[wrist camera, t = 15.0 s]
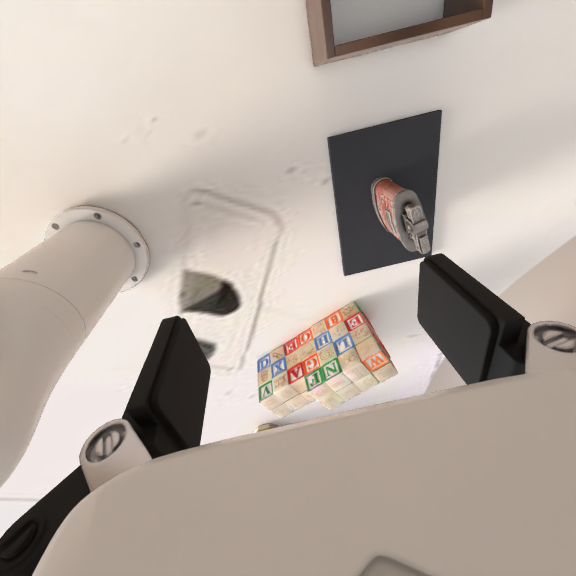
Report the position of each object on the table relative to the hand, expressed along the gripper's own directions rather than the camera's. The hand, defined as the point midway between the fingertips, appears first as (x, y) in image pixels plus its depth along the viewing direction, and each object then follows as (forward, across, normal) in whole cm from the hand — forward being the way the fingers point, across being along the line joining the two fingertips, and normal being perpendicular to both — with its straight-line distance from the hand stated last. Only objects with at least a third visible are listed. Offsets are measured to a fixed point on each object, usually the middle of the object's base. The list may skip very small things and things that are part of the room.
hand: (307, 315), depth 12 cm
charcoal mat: (+30, -15, +8) cm, 35 cm away
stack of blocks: (+31, -1, +31) cm, 43 cm away
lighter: (+30, -15, +8) cm, 34 cm away
